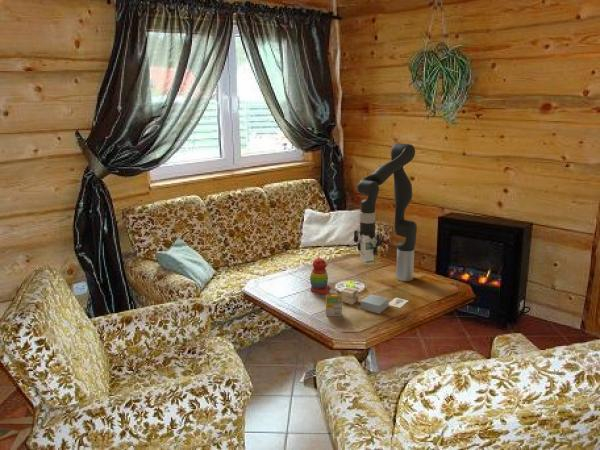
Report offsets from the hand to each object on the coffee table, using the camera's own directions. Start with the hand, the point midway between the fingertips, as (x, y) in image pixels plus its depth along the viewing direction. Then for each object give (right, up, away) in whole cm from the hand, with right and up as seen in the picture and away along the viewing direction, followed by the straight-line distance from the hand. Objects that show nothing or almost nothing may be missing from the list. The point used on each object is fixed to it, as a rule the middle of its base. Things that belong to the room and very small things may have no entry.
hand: (367, 252), depth 251 cm
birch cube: (-9, -25, +1) cm, 26 cm away
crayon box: (-18, -29, -14) cm, 37 cm away
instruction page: (+15, -25, -3) cm, 29 cm away
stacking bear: (-23, -21, +14) cm, 35 cm away
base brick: (+3, -27, -7) cm, 28 cm away
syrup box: (0, -5, +2) cm, 6 cm away
